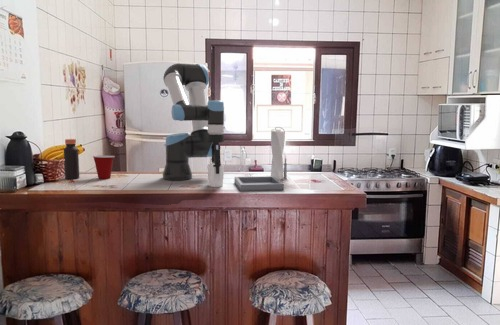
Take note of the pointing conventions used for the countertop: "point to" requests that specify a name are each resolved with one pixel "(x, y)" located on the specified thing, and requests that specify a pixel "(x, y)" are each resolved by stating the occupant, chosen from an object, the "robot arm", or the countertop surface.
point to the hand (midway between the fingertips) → (215, 178)
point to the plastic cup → (103, 166)
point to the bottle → (71, 159)
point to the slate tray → (259, 183)
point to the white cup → (211, 176)
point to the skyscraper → (278, 154)
